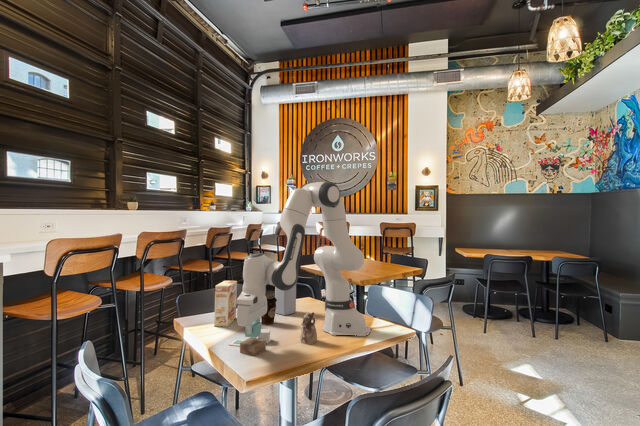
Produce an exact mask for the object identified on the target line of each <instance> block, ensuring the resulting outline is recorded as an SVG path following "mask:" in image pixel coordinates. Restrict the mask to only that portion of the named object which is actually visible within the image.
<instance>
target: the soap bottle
mask: <svg viewBox="0 0 640 426" xmlns="http://www.w3.org/2000/svg"><path fill="white" fill-rule="evenodd" d="M274 288H275V289H274V296H275V298H276V299H277V301H276V310H275V314H278V315H282V316H289V315H292V314H294V313H296V311H297V283H296V284H295V286H294V287H293V288H291V289H289V290H286V291H283V290H280V289H278V288H276V287H275V286H274Z"/></svg>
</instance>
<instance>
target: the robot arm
mask: <svg viewBox="0 0 640 426" xmlns="http://www.w3.org/2000/svg"><path fill="white" fill-rule="evenodd" d="M315 207H316V208H320V209H321V214H322V215H321V216H322V227H323V234H324V237H325V238H326V239H327V240H329V241H330V242H331V243H332V245H324V246H320V247H317V248H316V250H315V251H314V254H313V260H314V263H315V265H316V266H317V267H318V268H319V270H320V271H321V272H322V275H323V277H324V281H325V295H326V296H325V299H324V300H325V302H324V309H325V310H324V311H325V313H324V320H323V325H322V328H321V329H322V331H324V333H325V332H326V333H329V334H330V335H331V336H334V337H335V336H336V335H355V336H354V337H366V335H367V336H368V334H369V333H371V327H370V326H369V325H368V324H367V323H366V319H365V316H364V315H363V314H362V313H361V312H359V310H357V309H356V308H355V302H354V300H352V299H350V294H351V293H350V287H351V285H350V282H349V280H348V279H346V278H345V277H344V276H343V275H342V273H341V272H342V271H347V272H352V271H353V272H354V271H359V270H360V269H361V268H362V267H363V266H364V262H365V256H364V254H363V251H362V250H361V249H360V248H358V247H357V246H356V244H355V243H354V242H353V240H352V239H351V237H350V233H349V231H348V224H347V222H348V221H347V212H346V209H345V208H346V207H345V204H344V201H343V198H342V197H341V191H340V188H339V187H338V185H337V184H336V183H334V182H330V181H315V182H311V183H310V182H306V183H304V184H302V185H301V186H300V187H298V188H294V189H293V190H292V191H291V192H290V194H289V196H288V198H287V200H286V202H285V203H284V207H283V209H282V212H281V215H280V219H279V220H280V221H279V225H280V228H281V229H282V231H283V232H284V233H285V235H286V240H287V242H286V245H285V250H284V253H283V258H282V260H281V261H278V260H275V259H272V258H270V257H268V256H267V255H266V254H264V253H262V252H261V253H260V252H258V253H251V254H248V255H247V256H246V257H245V258H244V261H243V266H242V267H243V270H242V280H243V284H242V291H241V293H240V294H239V296H238V297H236V305H237V307H236V322H237V325H238V326H239V327H245V326H246V328H247V334H252V333H253V329H252V326H251V325H252V322H261V316H263V315H264V314H266V313H267V297H266V296H267V295H266V287H267V285H270V286H273V287H274V288H275V287H276V288H278V289H280V290H283V291H286V290H289V289H291V288H293V287H294V286H295V284H296V285H297V282H298V279H299V264H300V259H301V256H302V251H303V246H304V242H305V235H306V224H307V222H308V219H309V216H310V211H311V209H312V208H315ZM356 335H357V336H356ZM369 335H370V334H369Z"/></svg>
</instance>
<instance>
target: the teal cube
mask: <svg viewBox="0 0 640 426" xmlns="http://www.w3.org/2000/svg"><path fill="white" fill-rule="evenodd" d="M251 326H252V329H253V333H252V334H247V328H246V326H244V327H245V329H244V336H245V337H244V338H251V337H253V338H258V336H259V335H260V334H261V329H262V324H261V321H260V322H255V321H254V322H252V325H251Z"/></svg>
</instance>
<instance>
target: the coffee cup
mask: <svg viewBox="0 0 640 426" xmlns="http://www.w3.org/2000/svg"><path fill="white" fill-rule="evenodd" d="M265 296H266V297H267V313H266V314H264V315H263V316H261V320H260V322H261V325H264V326H268V325H269V326H270V325H273V324H274V323H275V319H276V318H275V317H276V313H275V310H276V301H277V299H276V298H275V295H265Z"/></svg>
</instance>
